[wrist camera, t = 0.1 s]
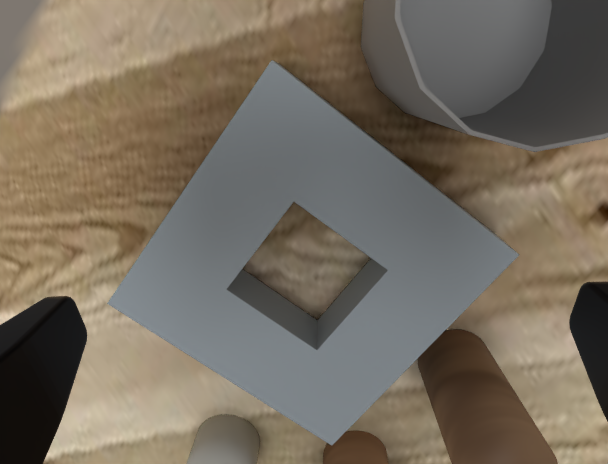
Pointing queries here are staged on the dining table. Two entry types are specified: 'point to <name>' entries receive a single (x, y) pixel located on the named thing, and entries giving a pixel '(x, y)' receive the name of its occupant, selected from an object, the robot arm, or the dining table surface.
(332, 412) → the grey square frame
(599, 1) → the cup
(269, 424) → the dining table surface
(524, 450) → the long dowel
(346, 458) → the medium dowel
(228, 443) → the short dowel
